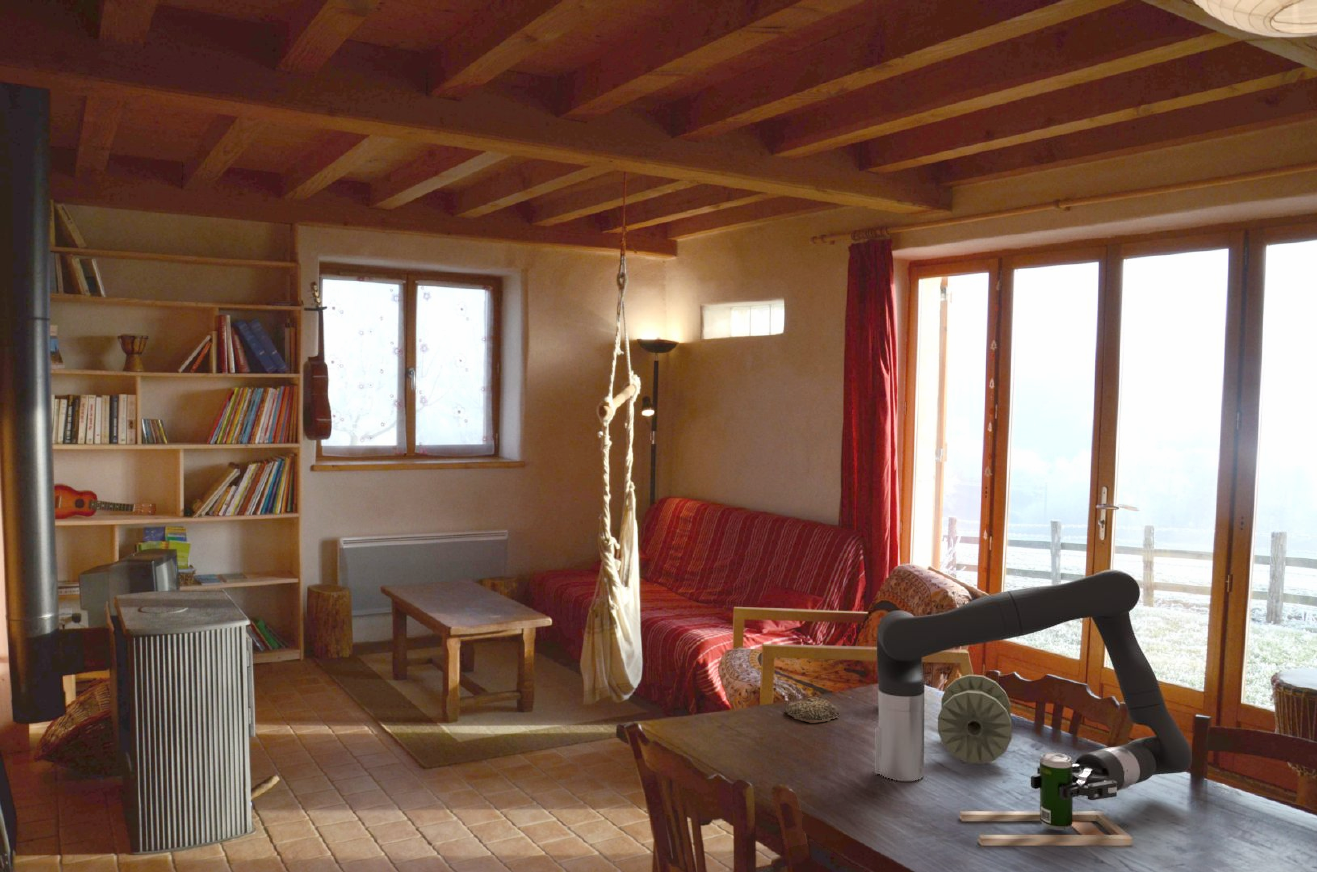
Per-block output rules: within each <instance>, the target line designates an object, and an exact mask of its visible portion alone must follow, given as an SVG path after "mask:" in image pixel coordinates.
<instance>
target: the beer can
mask: <svg viewBox="0 0 1317 872" xmlns="http://www.w3.org/2000/svg"><path fill="white" fill-rule="evenodd" d="M1040 757H1041V759H1040V761H1039V766H1040V788H1039V811H1040V820H1041V821H1040V822H1041V824H1042V825H1043V827H1045V828H1047V829H1051V830H1055V831H1066V830H1069V829H1071V828H1072V826H1071V825H1072V823H1073V810H1074V809H1073V804H1074V802H1073V799H1074V797H1073V798H1069V799H1066V800H1063V799H1060V798H1059V788H1060V786H1063V785H1066V784H1070V783H1073V764H1074V763H1073V762H1072V757H1071V756H1069V755H1067V754H1064V753H1058V752H1045V753H1042V754H1041V756H1040Z"/></svg>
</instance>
